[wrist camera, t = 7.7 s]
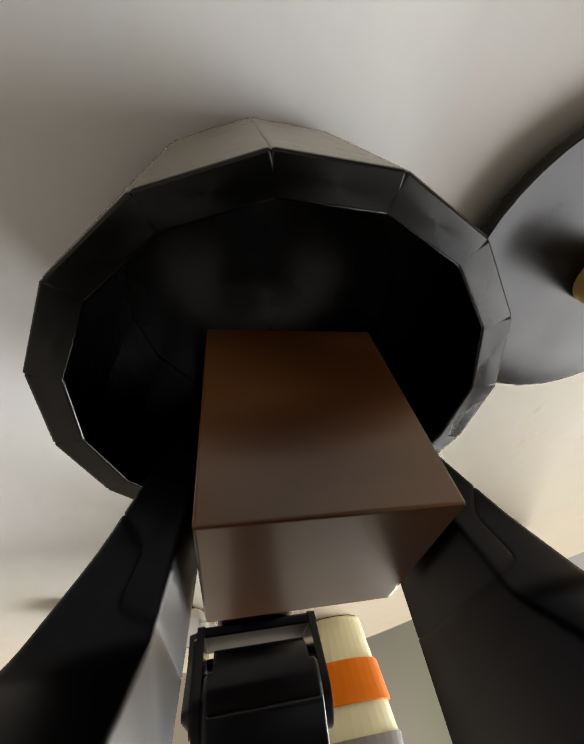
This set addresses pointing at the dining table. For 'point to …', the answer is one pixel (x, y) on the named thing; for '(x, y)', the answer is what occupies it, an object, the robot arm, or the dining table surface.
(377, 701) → the reusable coffee cup
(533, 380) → the tin lid
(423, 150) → the dining table surface
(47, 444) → the dining table surface
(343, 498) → the block
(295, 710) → the robot arm
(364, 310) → the tin
